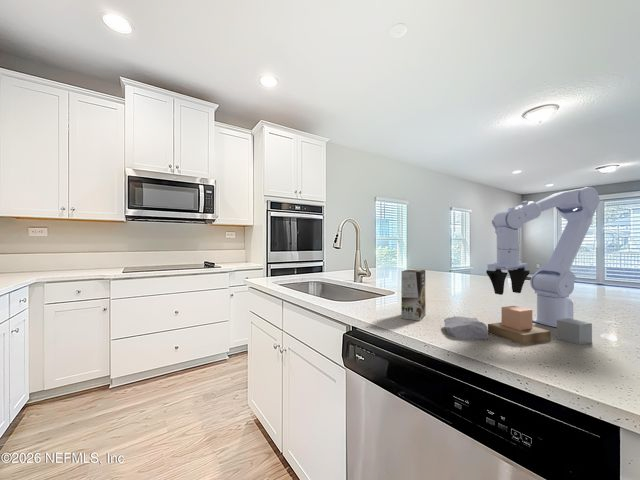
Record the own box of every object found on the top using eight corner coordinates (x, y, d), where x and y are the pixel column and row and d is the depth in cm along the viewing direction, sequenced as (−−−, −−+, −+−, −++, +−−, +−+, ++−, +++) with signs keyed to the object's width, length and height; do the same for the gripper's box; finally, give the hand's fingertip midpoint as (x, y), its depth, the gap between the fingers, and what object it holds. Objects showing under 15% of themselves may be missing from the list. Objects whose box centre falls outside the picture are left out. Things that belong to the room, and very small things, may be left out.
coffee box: (420, 321, 91) (420, 271, 91) (400, 318, 94) (400, 270, 94) (426, 315, 98) (426, 269, 98) (407, 312, 102) (407, 268, 102)
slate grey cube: (569, 336, 76) (569, 318, 76) (592, 342, 72) (591, 323, 72) (557, 338, 75) (556, 319, 75) (579, 345, 70) (579, 325, 70)
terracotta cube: (513, 323, 80) (513, 305, 80) (532, 328, 75) (532, 309, 75) (501, 324, 78) (501, 307, 78) (519, 330, 73) (519, 311, 73)
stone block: (452, 345, 75) (492, 340, 73) (448, 327, 75) (488, 322, 73) (442, 333, 86) (477, 328, 84) (439, 317, 87) (473, 312, 85)
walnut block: (513, 330, 82) (513, 320, 82) (550, 342, 73) (550, 331, 73) (487, 334, 79) (487, 324, 79) (523, 347, 70) (523, 335, 70)
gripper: (511, 249, 92) (512, 289, 92) (478, 249, 88) (478, 292, 87) (534, 249, 86) (534, 293, 86) (499, 250, 81) (500, 296, 81)
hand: (507, 293), depth 86 cm, fingers open, 7 cm apart
